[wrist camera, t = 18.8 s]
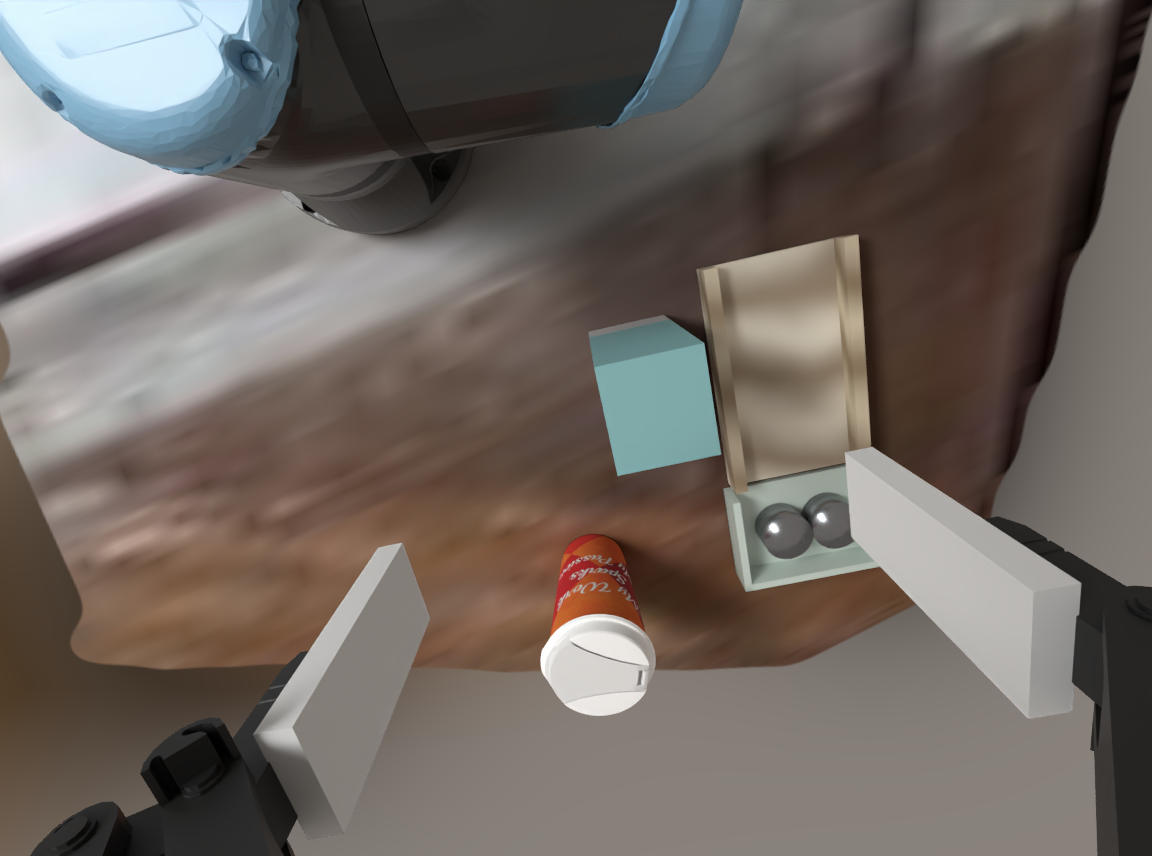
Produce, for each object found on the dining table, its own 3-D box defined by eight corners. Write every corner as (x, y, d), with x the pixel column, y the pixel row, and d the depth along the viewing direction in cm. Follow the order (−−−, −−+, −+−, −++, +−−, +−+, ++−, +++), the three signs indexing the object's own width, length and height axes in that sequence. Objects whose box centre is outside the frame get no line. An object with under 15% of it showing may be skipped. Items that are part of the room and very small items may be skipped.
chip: (745, 526, 47) (755, 540, 45) (779, 494, 46) (790, 507, 44) (776, 552, 48) (787, 567, 46) (810, 521, 47) (823, 535, 45)
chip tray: (723, 488, 47) (732, 503, 44) (863, 460, 46) (882, 473, 43) (736, 572, 49) (745, 591, 46) (869, 546, 48) (887, 565, 46)
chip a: (796, 501, 47) (808, 514, 44) (842, 486, 46) (856, 498, 44) (807, 539, 48) (819, 554, 45) (852, 525, 47) (866, 539, 45)
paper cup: (640, 526, 48) (665, 631, 34) (630, 600, 50) (650, 725, 37) (552, 519, 48) (543, 623, 34) (546, 594, 50) (535, 718, 37)
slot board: (696, 269, 41) (703, 270, 39) (842, 235, 40) (858, 234, 38) (728, 482, 47) (736, 494, 44) (857, 456, 46) (872, 466, 43)
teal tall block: (588, 331, 43) (594, 367, 29) (663, 314, 42) (704, 343, 29) (605, 409, 45) (617, 475, 31) (677, 393, 44) (721, 454, 31)
